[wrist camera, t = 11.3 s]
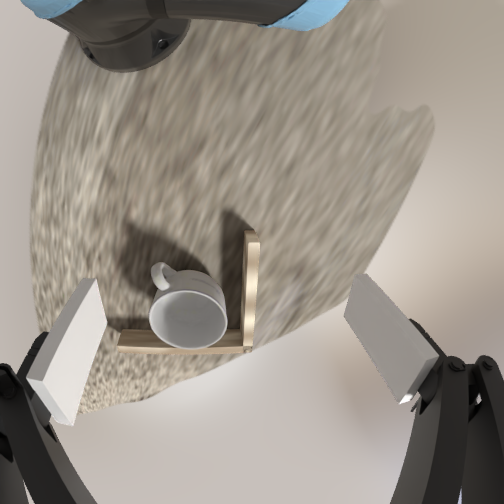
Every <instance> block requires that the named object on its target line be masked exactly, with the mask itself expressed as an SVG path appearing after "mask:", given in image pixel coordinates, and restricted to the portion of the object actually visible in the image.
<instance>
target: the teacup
mask: <svg viewBox="0 0 504 504" xmlns="http://www.w3.org/2000/svg"><path fill="white" fill-rule="evenodd" d="M162 273H163V274H164V275H165V276H166V277H167V278H166V279H165V278H164V276H163V274H162ZM151 276H152V279H153V281H154V283H155V285H156V286H157V287H158V290H157V292H156V295H155V297H154V301H153V304H152V306H151V307H150V310H149V323H150V325H151V328H152V330H153V331H154V333H155V334H156V335H157V336H158V337H159V338H160V339H161V340H162V341H164V342H166V343H167V344H169V345H171V346H174V347H177V348H181V349H200V348H206V347H208V346H210V345H212V344H214V343H216V342H217V341H218V340H220V339H221V338H222V336H223V335H224V333H225V331H226V328H227V321H228V320H227V315H226V306H225V299H224V295H223V292H222V290H221V288H220V286H219V285H218V283H217V282H216V281H215V280H214V279H213V278H211V277H210V276H208V275H207V274H205V273H202V272H199V271H195V270H183V271H178V272H176V271H175V270H174V269H172V268H171V267H169V266H168V265H167V264H166V263H164V262H158V263H156V264H155V265H153V266H152V268H151Z"/></svg>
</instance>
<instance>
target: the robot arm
mask: <svg viewBox="0 0 504 504" xmlns="http://www.w3.org/2000/svg"><path fill="white" fill-rule="evenodd" d="M348 1H349V0H21V2H22V3H23V4H24V5H25V6H26V7H28V8H29V9H31V10H32V11H33V12H34V13H35V15H36V16H37V17H39V18H43V19H47V20H49V21H50V22H52V23H54V24H56V25H58V26H60V27H62V28H63V29H65V30H67V31H68V32H70V33H72V34H73V35H75V36H77V37H78V38H79V39H80V42H81V45H82V49H83V51H84V53H85V54H86V56H87V57H88V58H89V59H90V60H91V61H92V62H93V63H95V64H96V65H98V66H100V67H102V68H104V69H106V70H109V71H113V72H121V73H125V72H134V71H139V70H142V69H145V68H148V67H151V66H153V65H155V64H157V63H158V62H160V61H162V60H163V59H165V58H166V57H167V56H169V55H170V54H171V53H172V52H173V51H174V50H175V49H176V48H177V47H178V46H179V45H180V44H181V42H182V41H183V39H184V38H185V36H186V34H187V32H188V30H189V27H190V22H191V19H208V20H222V21H233V22H242V23H250V24H257V25H258V26H259V27H264V28H270V27H279V28H285V29H291V30H297V31H307V30H310V29H313V28H318V27H320V26H322V25H324V24H326V23H327V22H329V21H330V20H331V19H333V18H334V17H335V16H336V15H337V14H338V13H339V12H340V11H341V10H342V9H343V8H344V7H345V5H346V4H347V3H348ZM344 317H345V319H346V321H347V322H348V324H349V325H350V327H351V328H352V330H353V331H354V333H355V334H356V336H357V338H358V339H359V340H360V342H361V344H362V345H363V347H364V349H365V350H366V352H367V353H368V355H369V356H370V358H371V360H372V361H373V363H374V364H375V366H376V368H377V369H378V371H379V373H380V374H381V376H382V377H383V379H384V381H385V382H386V384H387V386H388V387H389V389H390V390H391V392H392V394H393V396H394V397H395V399H396V401H397V402H398V404H401V403H404V402H407V401H410V400H412V398H413V397H414V396H415V394H416V393H417V391H418V392H419V394H420V395H421V396H420V398H419V399H418V400H417V402H416V403H415V405H414V406H413V407H412V409H411V412H413V411H414V409H415V408H416V407H417V409H416V414H415V419H414V424H413V428H412V433H411V437H410V441H409V445H408V449H407V453H406V457H405V460H404V464H403V467H402V470H401V474H400V477H399V480H398V483H397V486H396V489H395V491H394V494H393V497H392V500H391V502H390V504H458V500H459V495H460V490H461V489H462V504H504V380H503V378H502V375H501V373H500V370H499V368H498V365H497V363H496V362H495V361H494V360H493V358H491V357H489V356H485V355H482V356H480V357H479V358H478V359H477V361H476V362H475V364H465V363H464V361H462V360H461V359H460V358H457V357H454V356H448V357H447V356H446V355H445V354H444V352H443V351H442V350H441V349H440V348H439V346H438V345H437V344H436V343H435V342H434V341H433V339H432V338H430V336H429V335H428V334H427V333H425V330H424V329H423V328H422V327H421V326H420V324H418V323H417V322H415V321H414V320H412V319H408V318H407V317H406V316H405V315H404V314H403V313H402V312H401V310H400V309H399V308H398V307H397V306H396V305H395V304H394V302H393V301H392V300H391V299H390V298H389V297H388V296H387V295H386V294H385V293H384V292H383V290H382V289H381V288H380V287H379V286H378V285H377V284H376V283H375V282H374V281H373V280H372V279H371V278H370V277H369V276H368V275H367V274H355V275H354V279H353V283H352V287H351V291H350V295H349V299H348V302H347V306H346V310H345V313H344ZM106 325H107V320H106V316H105V313H104V309H103V305H102V301H101V297H100V293H99V289H98V284H97V280H96V278H83V279H82V281H81V282H80V284H79V285H78V287H77V288H76V290H75V291H74V293H73V294H72V296H71V297H70V299H69V300H68V302H67V304H66V305H65V307H64V308H63V310H62V312H61V313H60V315H59V317H58V318H57V320H56V322H55V323H54V325H53V327H52V329H51V330H50V332H43V333H42V334H40V335H39V336H38V337H37V338H36V339H35V341H34V343H33V344H32V346H31V349H30V350H29V352H28V353H27V354H28V355H27V356H26V357H25V359H24V361H23V363H22V365H21V367H20V369H19V370H18V373H17V374H15V373H14V371H13V370H12V368H11V366H9V365H8V364H4V363H1V364H0V504H29V502H28V499H27V495H26V491H25V487H24V482H25V485H26V487H27V489H28V491H29V493H30V495H31V497H32V499H33V501H34V503H35V504H97V503H96V501H95V500H94V498H93V497H92V496H91V494H90V493H89V491H88V490H87V488H86V487H85V485H84V484H83V482H82V480H81V479H80V477H79V476H78V474H77V472H76V471H75V469H74V467H73V465H72V464H71V462H70V460H69V458H68V456H67V455H66V453H65V451H64V449H63V447H62V445H61V443H60V442H59V439H58V437H57V435H56V433H55V431H54V429H53V427H52V425H51V424H50V422H49V420H50V417H51V415H52V416H53V418H54V419H55V420H56V421H57V422H58V423H61V424H65V425H70V426H73V425H74V421H75V417H76V414H77V410H78V407H79V403H80V400H81V397H82V393H83V390H84V387H85V384H86V381H87V378H88V375H89V372H90V369H91V366H92V363H93V360H94V357H95V354H96V352H97V349H98V346H99V343H100V341H101V338H102V335H103V333H104V330H105V328H106ZM479 396H481V399H482V401H481V402H480V403H479V404H478V403H477V399H478V398H479ZM23 480H24V482H23Z"/></svg>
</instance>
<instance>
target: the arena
mask: <svg viewBox="0 0 504 504" xmlns="http://www.w3.org/2000/svg"><path fill="white" fill-rule="evenodd" d="M259 252H260V241H259V239H258V237H257V234H256V232H255V230H244V249H243V272H242V295H241V319H240V329H226V331H225V333H224V335H223V336H222V338H221V339H220V340H218V341H217V342H216V343H214V344H212V345H210V346H208V347H206V348H200V349H181V348H177V347H174V346H171V345H169V344H167V343H166V342H164V341H162V340H161V339H160V338H159V337H158V336H157V335H156V334H155V333H154V331H153V330H135V329H122V332H121V335H120V338H119V341H118V344H117V348H118V351H119V352H120V353H139V354H227V353H247V352H252V346H253V333H254V320H255V306H256V293H257V280H258V266H259Z"/></svg>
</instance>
